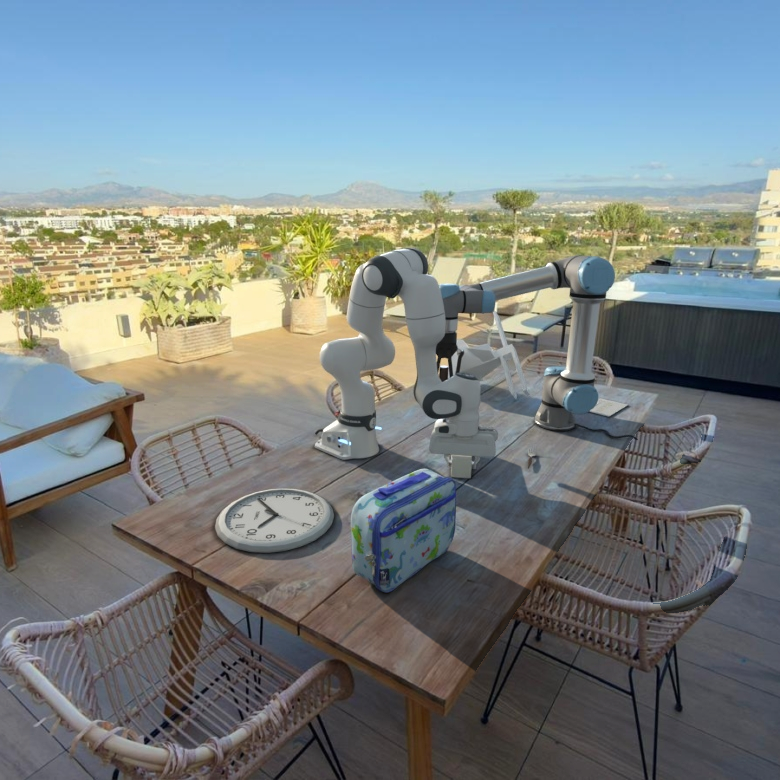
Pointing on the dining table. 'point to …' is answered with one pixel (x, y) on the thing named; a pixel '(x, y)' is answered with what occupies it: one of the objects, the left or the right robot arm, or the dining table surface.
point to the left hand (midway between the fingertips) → (461, 467)
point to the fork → (531, 456)
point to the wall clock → (274, 520)
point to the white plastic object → (489, 360)
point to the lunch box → (402, 527)
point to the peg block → (461, 466)
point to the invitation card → (607, 407)
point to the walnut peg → (443, 373)
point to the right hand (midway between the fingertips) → (442, 397)
